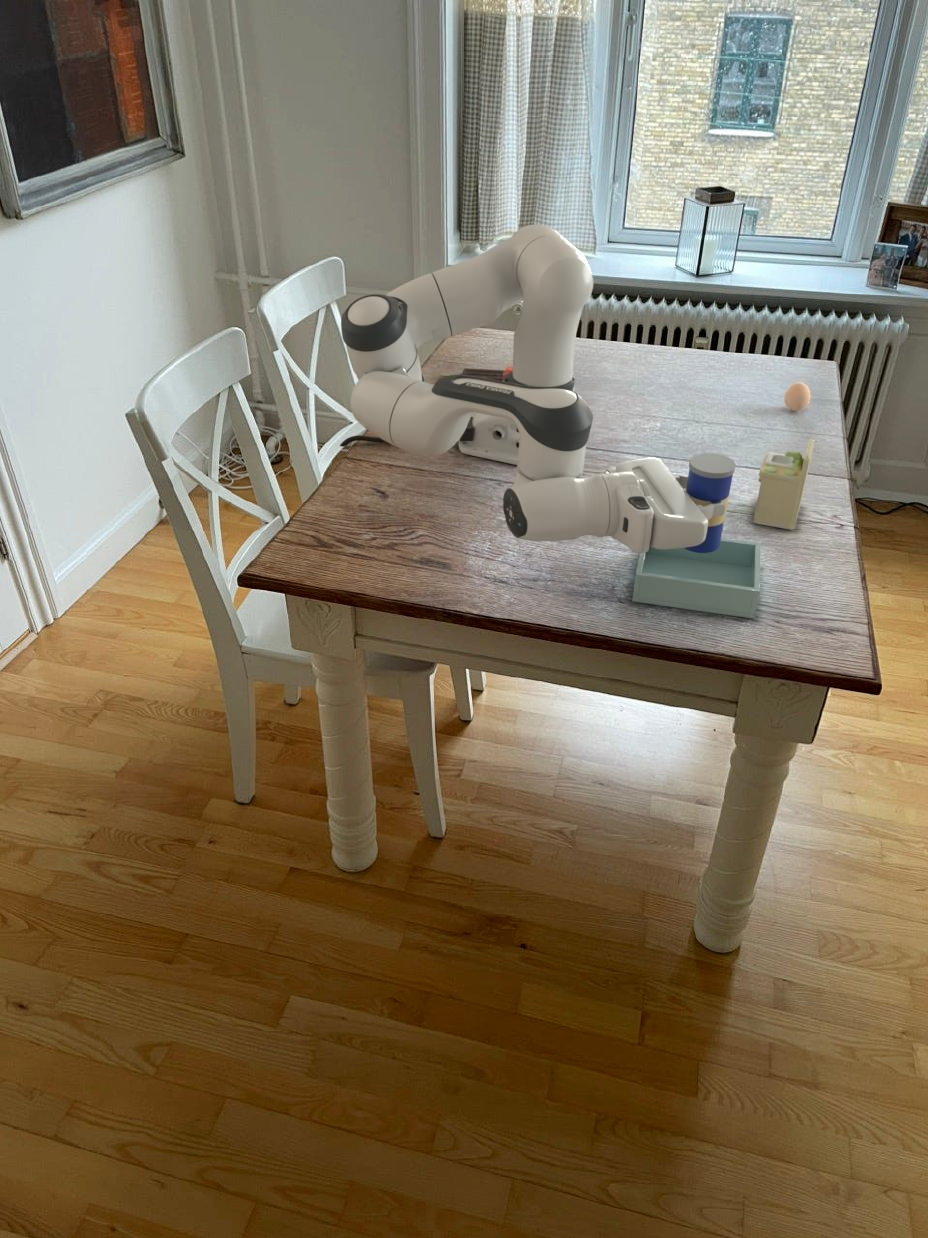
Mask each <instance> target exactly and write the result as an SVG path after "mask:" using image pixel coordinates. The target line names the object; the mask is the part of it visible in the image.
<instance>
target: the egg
mask: <svg viewBox="0 0 928 1238" xmlns="http://www.w3.org/2000/svg"><path fill="white" fill-rule="evenodd" d="M783 400H784V404H785V406H786V407H787V409H789V410H790V411H792V412H800V411H802V410H804V409H806V408H807V407H808V406H809V404H810V401H811V390H810V388H809V386H808V385H807V384H806V383H804V382H800V381H799V382H795V383H792V384H791V385H790V386H789V387H788V388H787V390H786V391H785V393H784V397H783Z"/></svg>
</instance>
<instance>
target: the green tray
mask: <svg viewBox="0 0 928 1238" xmlns="http://www.w3.org/2000/svg"><path fill="white" fill-rule="evenodd" d="M761 545H762V544H761V542H754V541H746V540H740V539H739V540H738V539H731V538H724V537H723V538H722V537H721V541H720V546H719V548H718V549H717V550H715V551H713V552H710V553H696V552H692V551H689V550H687V549H685V548H676V549H656V548H653V547H651V546H649V550H648V552H644V553H639V555H638V560H637V565H636V571H635V575H634V583H633V591H632V602H635V603H641V604H648V605H656V606H662V607H669V608H675V609H683V610H689V611H690V610H691V611H697V612H705V613H712V614H719V615H725V616H731V617H732V616H733V617H739V618H745V619H755V615H756V611H757V607H758V603H759V599H760V593H761V553H762V552H761V548H762V546H761Z"/></svg>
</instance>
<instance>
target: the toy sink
mask: <svg viewBox="0 0 928 1238" xmlns="http://www.w3.org/2000/svg"><path fill="white" fill-rule="evenodd" d="M815 441H816V440H815V439H809V440H808V443H807V448H806V451H805V455H804V456H803V455H802V454H801V453H800V451H799V452H798V451H792V450H787V451H786V452H785V454H784V453H779V452H778V453H777V452H772V451H767V452H766V453H765V455H764V458H763V461H762V463H761V466H760V468H759V472H758V476H759V478H758V483H760V485H759V490H758V496H757V500H756V505H755V510H754V516H753V524H757V525H763V526H767V527H773V528H774V527H775V528H778V529H779V528H780V529H785V530H789V531H790V530H791V531H793V530H795V528H796V524H797V519H798V516H799V512H800V508H801V503H802V500H803V496H804V491H805V486H806V481H807V477H808V473H809V469H810V464H811V460H812V455H813V452H814V447H815Z"/></svg>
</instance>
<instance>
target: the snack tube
mask: <svg viewBox="0 0 928 1238" xmlns="http://www.w3.org/2000/svg"><path fill="white" fill-rule="evenodd" d="M736 466H737V465H736V463H735V461H734V460H733V459H732V458H730V457H728V456H727V455H723V454H720V453H714V452H702V453H697V454H695V455H693V456H691V457H690V458H689V461H688V468H689V470H688V474H687V475H688V481H687V488H686V489H685V491H686V493H687V494H688V495H689V497H690V498H691V499H692V500H693V502H694V503H695V504H696V505H702V506H703V507H705V506H707V505H710V501H714V500H715V501H717V500H720V501H722V502H723V504H724V505H725V506H726V508H725V513H724V515H722V516H716V517H712V518H710V519H709V520H708V528H707V534H706V539H705V541H704V542H702V543H701V544H699V545H697V546H692V547H685V549H687V550H689V551H692V552H696V553H710V552H713V551H715V550H717V549H718V548H719V546H720V541H721V538H722V535H723V530H724V524H725V520H726V517H727V511H728V505H729V500H730V493H731V492H730V491H731V487H732V483H733V482H732V481H733V476H734V473H735V472H736V471H735V470H736Z"/></svg>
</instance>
